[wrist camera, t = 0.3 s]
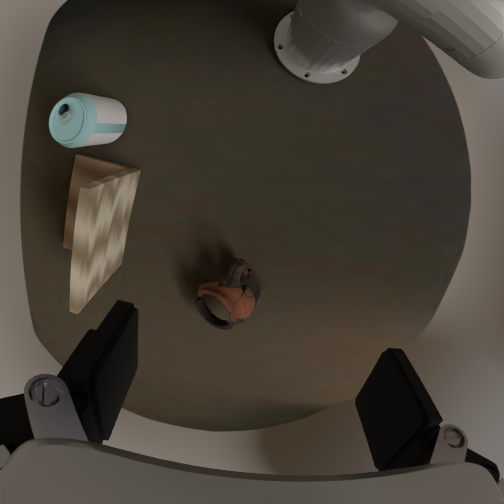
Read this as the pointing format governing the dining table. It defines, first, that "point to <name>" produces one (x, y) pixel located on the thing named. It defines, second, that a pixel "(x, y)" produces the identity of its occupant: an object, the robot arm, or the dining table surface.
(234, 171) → the dining table surface
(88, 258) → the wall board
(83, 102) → the can
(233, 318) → the vr controller
